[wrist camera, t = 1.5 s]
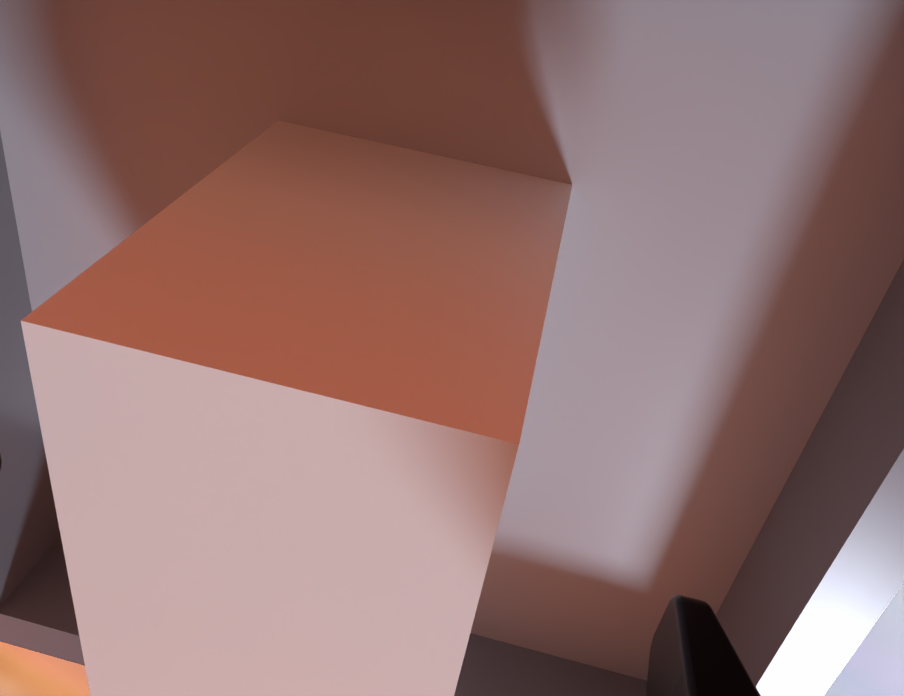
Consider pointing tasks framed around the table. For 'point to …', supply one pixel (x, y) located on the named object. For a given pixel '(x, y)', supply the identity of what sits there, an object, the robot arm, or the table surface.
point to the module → (295, 418)
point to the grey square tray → (572, 293)
